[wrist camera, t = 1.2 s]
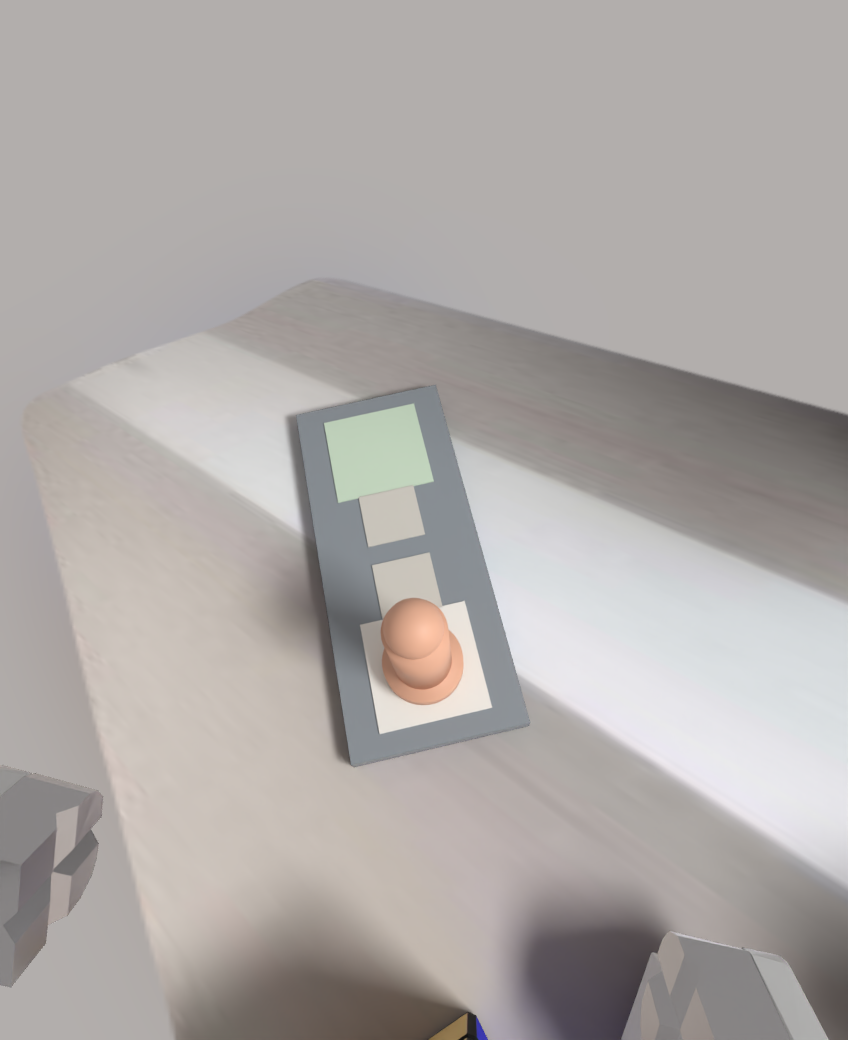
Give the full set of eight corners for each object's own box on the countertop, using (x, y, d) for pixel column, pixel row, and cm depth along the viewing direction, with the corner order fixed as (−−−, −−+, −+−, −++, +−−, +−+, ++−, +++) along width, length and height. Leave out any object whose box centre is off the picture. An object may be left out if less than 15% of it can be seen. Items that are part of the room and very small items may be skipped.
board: (436, 394, 53) (435, 383, 51) (528, 725, 41) (530, 722, 40) (299, 423, 52) (295, 414, 51) (354, 767, 41) (350, 764, 40)
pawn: (444, 614, 43) (437, 558, 35) (476, 685, 41) (477, 643, 33) (372, 644, 43) (347, 595, 34) (401, 718, 40) (382, 685, 32)
